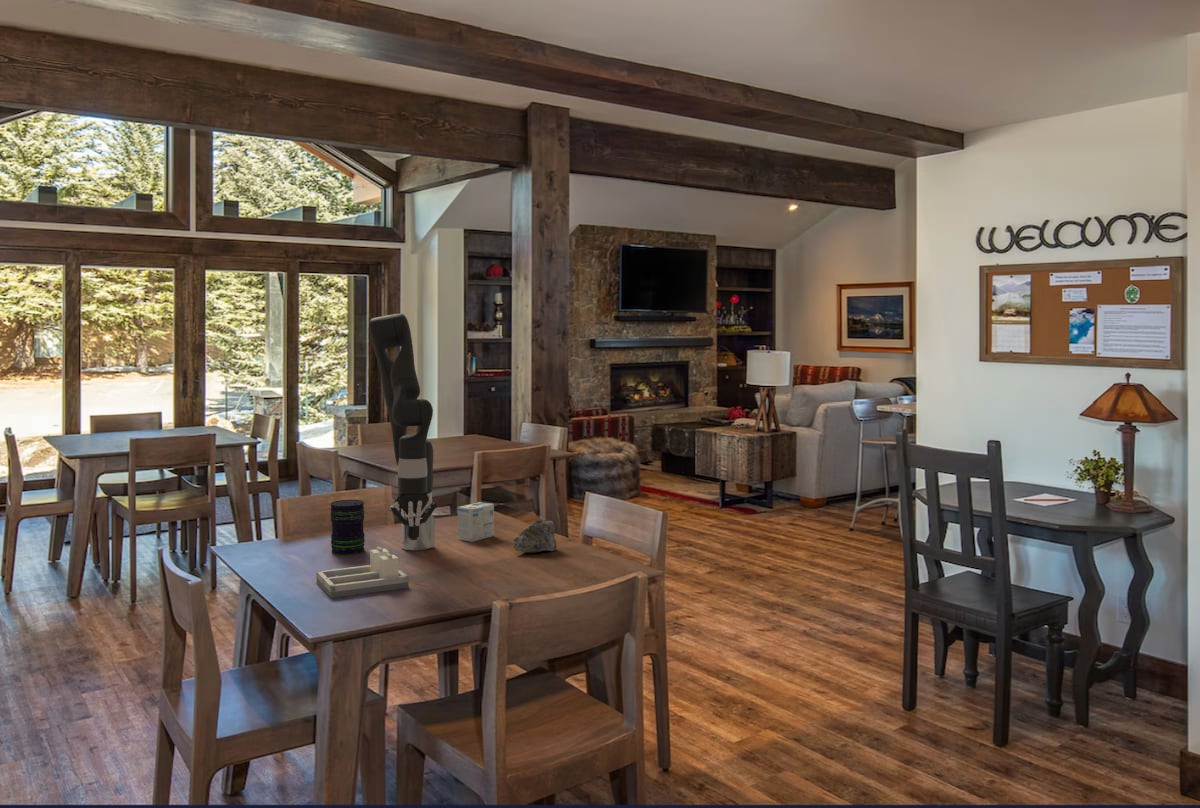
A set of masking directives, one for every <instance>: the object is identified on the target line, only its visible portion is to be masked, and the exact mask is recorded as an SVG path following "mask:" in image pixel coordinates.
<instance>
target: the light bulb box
mask: <svg viewBox="0 0 1200 808" xmlns="http://www.w3.org/2000/svg"><path fill="white" fill-rule="evenodd" d="M494 536H495V505H494V503H489V502H488V503H487V502H483V501H478V502H474V503H471V504H465V505H462V506H457V539H458V540H460V541H466V542H468V543H469V542H471V543H473V542H476V541H477V542H478V541H480V540H484V539H488V538H492V537H494Z"/></svg>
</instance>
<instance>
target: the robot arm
mask: <svg viewBox="0 0 1200 808" xmlns="http://www.w3.org/2000/svg"><path fill="white" fill-rule="evenodd" d="M368 331H369V335H370V340H371V344H372V347H373V351H374V354H375V358H376V360H377V366H378V369H379V375H380V379H381V385H382V386H381V387H382V391H383V396H384V402H385V404H386V409H387V412H388V413H387V414H388V418H389V423H390V426H391V427H390V428H391V433H392V443H393V451H394V457H395V463H396V465H397V471H398V472H397V479H398V481H397V482H398V483H397V489H398V491H397V492H398V495H397V497H396V502H395V503H393V504H392V505H389V506H388V510H389V511H390V512H391V514H393V516H394V517H395V518H396V519H397V520H398V522H399V523H400V524H401V549H403V550H405V551H423V550H424V551H425V550H429V549H432V548H435V547H436V546H435V545H436V542H435V536H436V535H435V516H433V512H434V511H435V509H436V508H437V505H438V504H437V503H434V502H433V477H434V475H433V474H434V473H433V469H434V447H433V444H432V442H431V441H429V440H427V439H428V433H429V429H430V428H431V427H430V426H431V423H432V419H433V414H434V409H433V406H432V404H431V402H430V401H429V400H427V399H425V398H424V399H421V398H420V399H418V398H419V397H420V394H421V387H420V383H419V380H418V376H417V373H416V372H417V371H416V367H415V359H414V358H415V356H414V355H415V353H414V346H413V340H412V332H411V328H410V324H409V320H408V318H407V316H406V315H405V314H404V313H393V314H392V313H391V314H389V315H388V314H387V315H383V316H378V317H373V318H371V319H370V320H369V322H368ZM397 347H400V350H399V353H398V355H397V356H396V358H395V360H394V361H393V359H392V358H391V357H390V355H389V354H388V352H387V350H388V349H393V348H397ZM408 427H416V430H415V431H414V432H412V433H409V434H407V431H408ZM400 510H401V512H400Z"/></svg>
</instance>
